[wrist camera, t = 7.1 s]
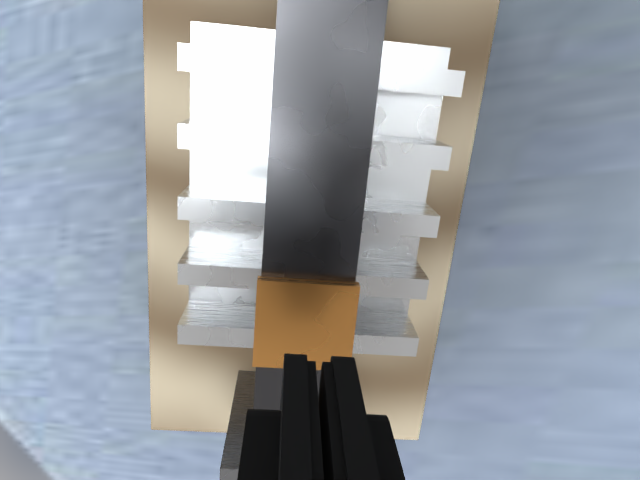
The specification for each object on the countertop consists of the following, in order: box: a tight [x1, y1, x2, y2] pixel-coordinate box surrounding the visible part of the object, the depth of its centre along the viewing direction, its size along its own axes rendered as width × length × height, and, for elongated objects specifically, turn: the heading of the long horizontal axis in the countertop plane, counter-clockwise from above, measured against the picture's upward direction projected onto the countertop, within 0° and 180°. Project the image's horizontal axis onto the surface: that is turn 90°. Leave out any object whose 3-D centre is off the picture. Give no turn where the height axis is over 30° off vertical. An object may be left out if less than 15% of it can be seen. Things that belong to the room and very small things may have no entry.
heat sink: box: [177, 21, 466, 480], centre depth 17 cm, size 22×9×6 cm, turn 175°
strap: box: [252, 0, 388, 410], centre depth 15 cm, size 18×4×2 cm, turn 175°
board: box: [143, 0, 500, 440], centre depth 21 cm, size 24×13×2 cm, turn 175°
